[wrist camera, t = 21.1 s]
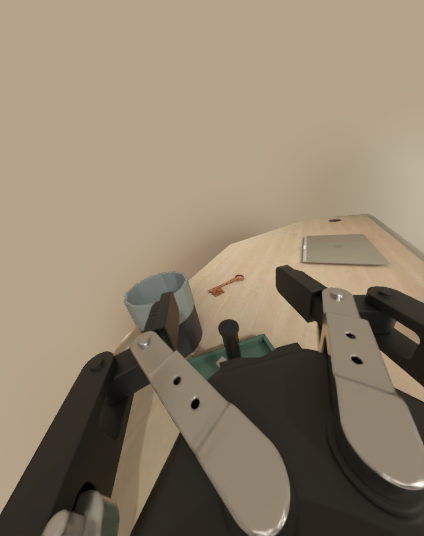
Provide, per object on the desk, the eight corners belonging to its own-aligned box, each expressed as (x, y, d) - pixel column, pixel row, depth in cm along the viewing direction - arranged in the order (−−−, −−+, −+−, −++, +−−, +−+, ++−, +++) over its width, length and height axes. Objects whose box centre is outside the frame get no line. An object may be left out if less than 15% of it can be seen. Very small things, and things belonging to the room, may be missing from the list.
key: (214, 298, 53) (249, 281, 58) (213, 296, 52) (249, 279, 57) (206, 289, 57) (239, 274, 62) (206, 287, 57) (239, 272, 62)
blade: (245, 435, 22) (232, 375, 16) (204, 387, 28) (183, 331, 22) (276, 382, 27) (276, 321, 21) (235, 351, 33) (226, 298, 27)
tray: (196, 464, 20) (192, 459, 20) (187, 366, 33) (185, 360, 32) (313, 414, 23) (314, 407, 22) (264, 339, 35) (264, 333, 34)
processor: (153, 373, 33) (120, 316, 26) (150, 331, 44) (127, 284, 37) (209, 345, 36) (193, 288, 30) (193, 312, 47) (179, 266, 41)
